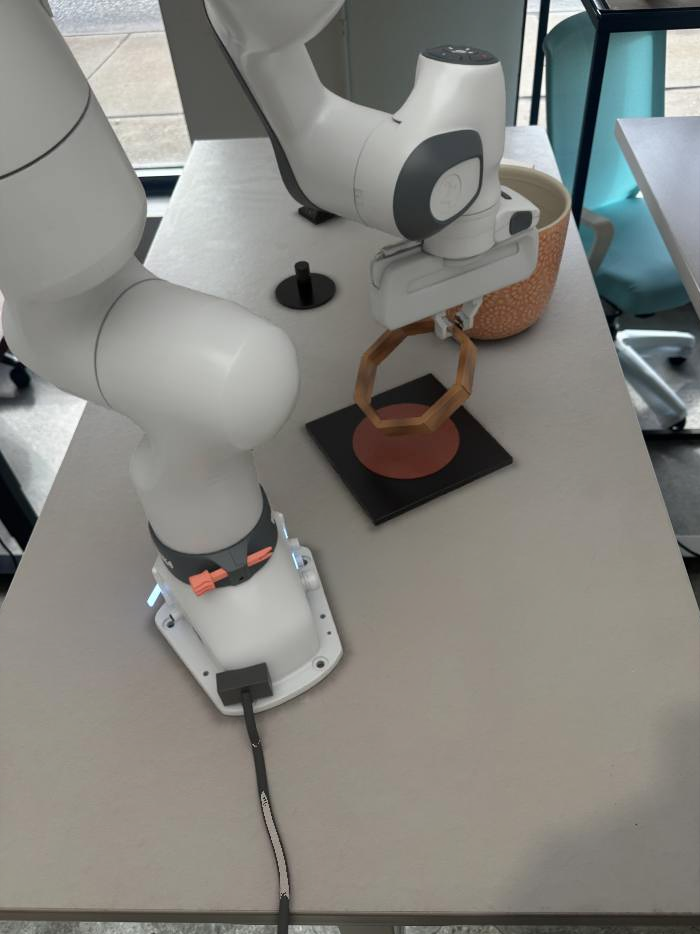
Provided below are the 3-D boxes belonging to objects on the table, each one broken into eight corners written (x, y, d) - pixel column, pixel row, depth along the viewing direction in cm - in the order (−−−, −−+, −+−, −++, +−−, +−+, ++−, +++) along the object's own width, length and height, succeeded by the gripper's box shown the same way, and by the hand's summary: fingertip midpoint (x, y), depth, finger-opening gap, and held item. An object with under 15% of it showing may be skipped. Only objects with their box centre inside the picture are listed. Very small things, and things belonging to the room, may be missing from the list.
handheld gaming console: (334, 182, 141) (349, 151, 132) (359, 211, 143) (376, 183, 133) (292, 214, 138) (305, 185, 128) (319, 243, 139) (333, 217, 129)
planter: (398, 339, 111) (393, 221, 97) (449, 269, 123) (451, 154, 108) (529, 372, 105) (545, 250, 90) (570, 294, 116) (590, 176, 102)
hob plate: (512, 463, 93) (513, 456, 92) (375, 526, 88) (375, 520, 87) (431, 378, 105) (431, 371, 104) (305, 429, 99) (304, 422, 99)
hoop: (499, 369, 84) (491, 358, 82) (405, 459, 86) (394, 450, 84) (431, 305, 92) (422, 294, 90) (347, 388, 95) (336, 379, 93)
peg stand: (346, 296, 119) (343, 269, 115) (290, 316, 117) (285, 289, 113) (319, 268, 125) (316, 242, 121) (266, 287, 122) (260, 260, 119)
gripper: (384, 266, 71) (390, 376, 82) (553, 206, 77) (538, 316, 88) (354, 238, 75) (364, 347, 86) (517, 182, 81) (508, 291, 91)
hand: (453, 331), depth 87 cm, fingers closed on hoop, 1 cm apart
